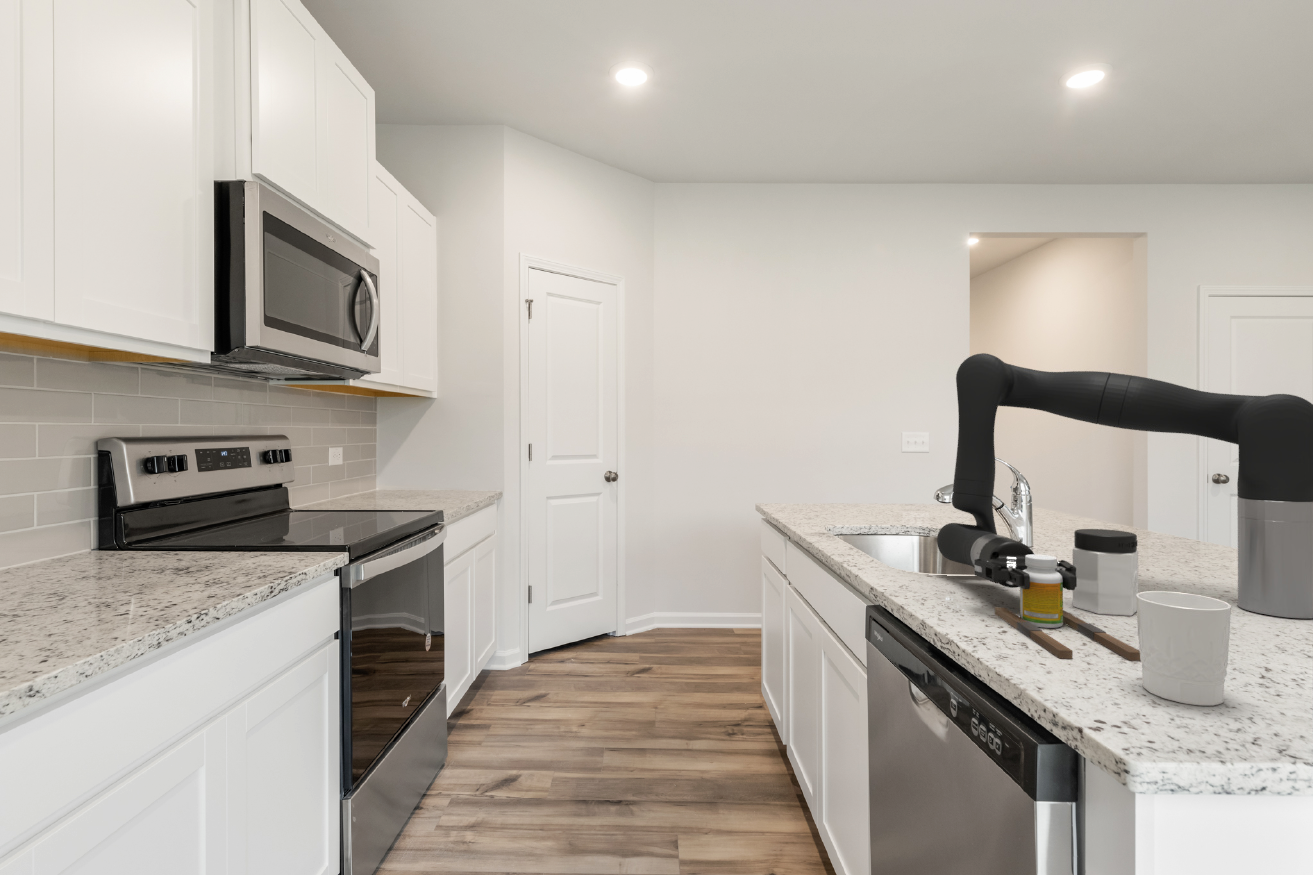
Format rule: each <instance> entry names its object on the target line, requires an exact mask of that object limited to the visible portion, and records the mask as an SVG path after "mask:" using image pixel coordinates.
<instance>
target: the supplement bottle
mask: <svg viewBox="0 0 1313 875" xmlns="http://www.w3.org/2000/svg"><path fill="white" fill-rule="evenodd" d="M1057 562H1058V558H1057V557H1056V556H1053V555H1047V554H1037V553H1034V554H1030V555H1026V556H1025V565H1026V566H1027V569H1025V570H1023V571H1024V572H1026V573H1028V574H1029V576H1030V588H1029V589H1022V588H1021V587H1019V611H1020V612H1019V615H1020V616H1019V617H1021V618H1022V619H1024V620H1025V621H1027V622H1030V623H1031V624H1033V625H1035V626H1036V627H1038V628H1042V629H1055V628H1061V627H1062V626H1063V625H1064V623H1063V610H1064V591H1063V590H1064V588H1063V578H1062V576H1061V574H1060V573H1058V572H1056V571H1055V568H1057Z"/></svg>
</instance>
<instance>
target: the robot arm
mask: <svg viewBox="0 0 1313 875" xmlns="http://www.w3.org/2000/svg"><path fill="white" fill-rule="evenodd" d="M955 375H956V376H955V380H956V381H955V383H956V395H957V396H956V397H957V406H958V407H957V408H958V410H957V411H958V434H957V435H958V436H957V450H956V457H955V466H954V467H955V468H954V477H953V484H952V486H953V488H952V496H951V504H952V506H953V508H954V509H956V510H958V511H961V512H964V513H968V514H970V515H971V516H973V518H974V520H975V522H976V524H968V523H958V522H949V523H946V524H945V525H943V526H941V528H940V530H939V531H938V533H937V538H936V545H937V548H938V551H939V552H940V554H941V555H942V556H943V557H944V558H945V559H947V560H949V561H951V562H955V563H958V564H962V565H967V566H971V567H973V569H974V576H975V577H978V578H980V579H983V580H986V581H988V582H991V583H993V584H994V583H995V584H998V585H1001V586H1003V587H1006V588H1011V589H1014V588H1015V589H1016V588H1020V587H1021V588H1022V589H1029V588H1030V576H1029V574H1028V573H1026V572H1024V571H1023V570H1025V569H1027V566H1026V565H1025V556H1026V555H1030V554H1035V552H1034V551H1033V550H1032V549H1031V548H1030V547H1029V546H1028V545H1026V544H1025V543H1022V542H1020V541H1017V540H1015V539H1012V538H1010V537H1008V536H1004V535H1000V534H998V532H997V528H996V522H995V517H994V516H995V515H994V508H993V506H994V505H993V500H994V492H995V480H996V454H995V425H996V424H995V423H996V416H997V412H998V407H1010V408H1020V409H1021V408H1022V409H1030V410H1037V411H1041V412H1046V413H1049V414H1054V415H1056V416H1060V417H1064V418H1067V419H1068V418H1069V419H1073V420H1076V421H1080V422H1084V423H1089V424H1090V423H1091V424H1095V425H1100V426H1105V427H1112V428H1117V429H1123V430H1131V431H1132V430H1133V431H1141V432H1151V433H1166V434H1167V433H1168V434H1169V433H1170V434H1183V435H1193V436H1199V437H1204V438H1210V439H1213V440H1218V441H1223V442H1226V443H1230V444H1234V445H1237V446H1238V471H1237V473H1238V474H1237V487H1236V488H1237V497H1236V498H1237V500H1236V501H1237V606H1238V607H1239V608H1240V609H1243V610H1245V611H1250V612H1253V613H1257V614H1264V615H1269V616H1274V617H1280V618H1290V619H1291V618H1292V619H1313V403H1312V402H1311V401H1309V400H1307V399H1305V398H1303V397H1301V396H1298V395H1294V394H1287V393H1273V394H1268V395H1248V394H1247V395H1246V394H1245V395H1244V394H1231V393H1230V394H1229V393H1219V392H1211V391H1210V392H1209V391H1202V390H1198V389H1194V388H1191V387H1190V388H1189V387H1186V386H1182V385H1179V384H1176V383H1172V382H1167V381H1163V380H1159V379H1155V378H1149V377H1145V376H1140V375H1139V376H1138V375H1132V374H1123V373H1116V372H1109V371H1093V370H1092V371H1090V370H1089V371H1088V370H1084V371H1082V370H1078V371H1077V370H1076V371H1075V370H1073V371H1043V370H1036V369H1032V368H1027V367H1023V366H1019V365H1018V366H1017V365H1014V364H1011V363H1010V364H1009V363H1007V362H1004V361H1003V360H1002V359H1000V358H999V357H997V356H995V355H993V354H990V353H986V352H985V353H977V354H973V355H970V356H968V357H967V358H966V359H964V360H963V361H962V362H961V364H960V365H959V367H958V368H957V372H956V374H955ZM1055 571H1056V572H1058V573H1060V574H1061V576H1062V578H1063V589H1065V590H1067V591H1073V590H1075V587H1077V577H1076V567H1074V566H1073V563H1070V562H1069V561H1067V560H1065V559H1061V560H1057V568H1055Z"/></svg>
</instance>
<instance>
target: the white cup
mask: <svg viewBox="0 0 1313 875" xmlns="http://www.w3.org/2000/svg"><path fill="white" fill-rule="evenodd" d="M1136 604H1137V611H1136V616H1137V617H1136V618H1137V619H1136V620H1137V636H1138V647H1139V651H1140V660H1141V661H1140V662H1141V673H1142V674H1141V676H1142V687H1143V689H1145V690H1146V691H1147V692H1148V693H1151V694H1152V695H1155V696H1157V697H1159V698H1161V699H1165V700H1169V701H1172V702H1176V703H1178V704H1179V703H1181V704H1187V705H1191V706H1192V705H1193V706H1204V707H1205V706H1207V707H1208V706H1210V707H1212V706H1217V705H1221V704H1223V703H1224V698H1225V697H1224V696H1225V695H1224V694H1225V681H1226V679H1225V678H1226V677H1227V675H1228V670H1227V669H1228V663H1229V651H1230V650H1229V648H1230V637H1231V636H1230V633H1231V631H1230V630H1231V618H1232V617H1231V615H1232V605H1231V604H1230V603H1228V602H1226V601H1224V600H1221V599H1218V598H1214V597H1210V596H1206V595H1200V594H1194V593H1193V594H1192V593H1187V592H1179V591H1169V590H1168V591H1164V590H1148V591H1140V592H1138V593H1137V594H1136Z"/></svg>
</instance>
